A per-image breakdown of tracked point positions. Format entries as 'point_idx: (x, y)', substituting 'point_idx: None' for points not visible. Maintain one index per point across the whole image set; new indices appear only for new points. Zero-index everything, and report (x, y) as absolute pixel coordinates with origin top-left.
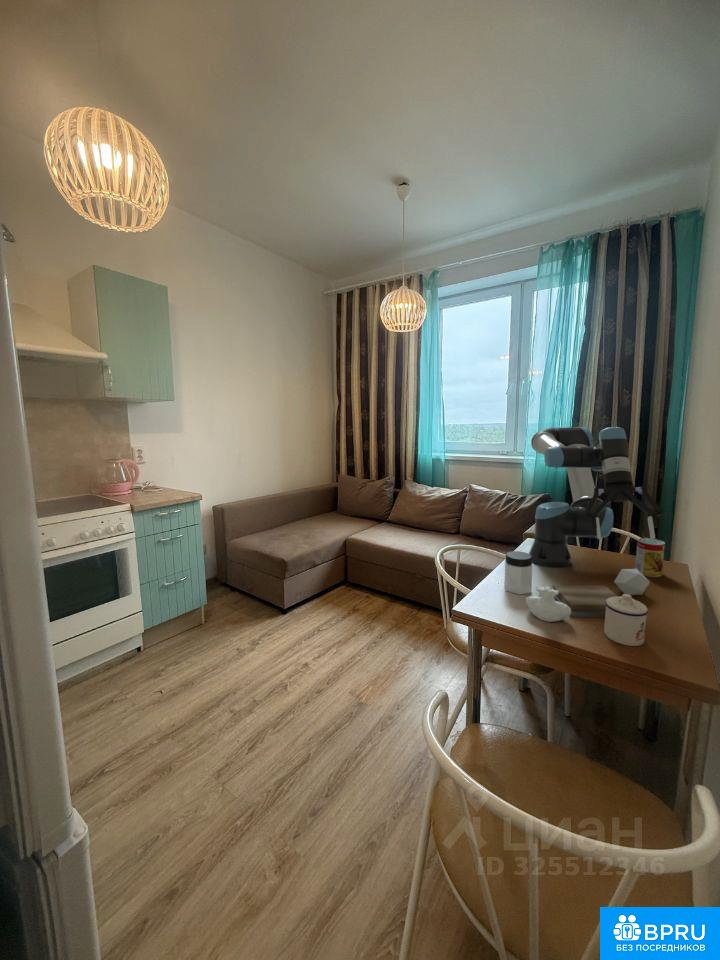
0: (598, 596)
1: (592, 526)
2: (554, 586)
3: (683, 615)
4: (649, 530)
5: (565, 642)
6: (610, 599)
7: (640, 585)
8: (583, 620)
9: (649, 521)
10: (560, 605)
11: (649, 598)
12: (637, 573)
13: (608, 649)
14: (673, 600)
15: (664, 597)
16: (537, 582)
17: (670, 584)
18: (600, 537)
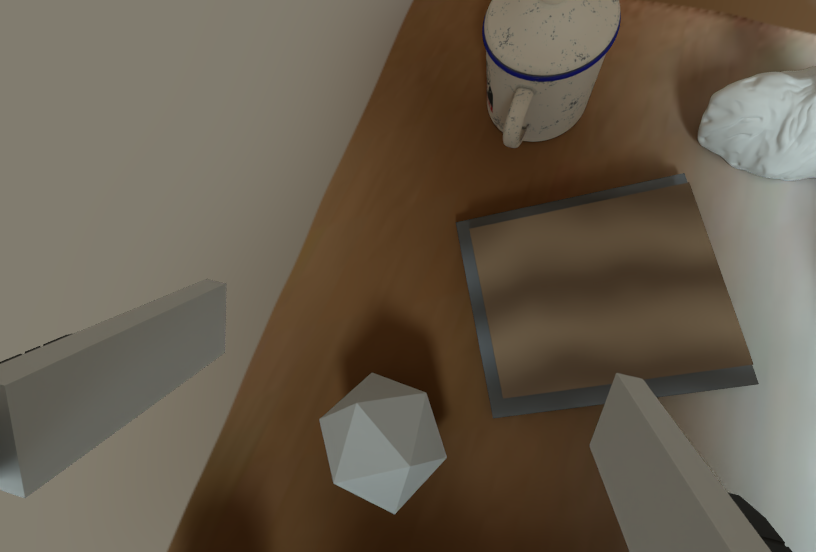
0: (561, 280)
1: (756, 527)
2: (746, 352)
3: (310, 276)
4: (168, 379)
5: (716, 21)
6: (604, 19)
7: (370, 381)
8: (633, 165)
9: (85, 359)
10: (770, 72)
11: (349, 388)
12: (359, 412)
13: None
14: (281, 385)
15: (297, 406)
16: (797, 501)
17: (214, 540)
18: (621, 377)
